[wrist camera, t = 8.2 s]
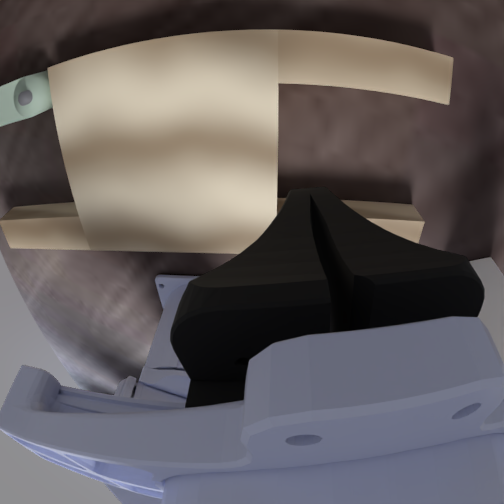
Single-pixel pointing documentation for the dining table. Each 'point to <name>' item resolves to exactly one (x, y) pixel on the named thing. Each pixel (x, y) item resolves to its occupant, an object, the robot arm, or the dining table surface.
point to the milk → (492, 300)
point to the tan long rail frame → (201, 137)
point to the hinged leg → (25, 98)
